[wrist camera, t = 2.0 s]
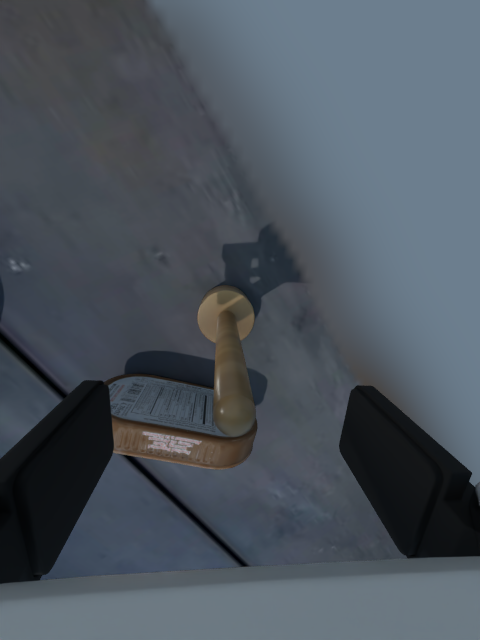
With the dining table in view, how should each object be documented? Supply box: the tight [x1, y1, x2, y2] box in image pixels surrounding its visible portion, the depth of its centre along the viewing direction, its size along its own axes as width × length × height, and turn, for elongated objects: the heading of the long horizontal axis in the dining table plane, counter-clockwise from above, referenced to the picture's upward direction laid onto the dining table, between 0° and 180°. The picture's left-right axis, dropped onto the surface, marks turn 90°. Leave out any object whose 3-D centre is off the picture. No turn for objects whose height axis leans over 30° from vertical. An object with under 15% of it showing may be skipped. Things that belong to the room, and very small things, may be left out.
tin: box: [104, 374, 257, 470], centre depth 22 cm, size 15×3×8 cm, turn 74°
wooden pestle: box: [197, 285, 256, 437], centre depth 16 cm, size 5×5×16 cm
